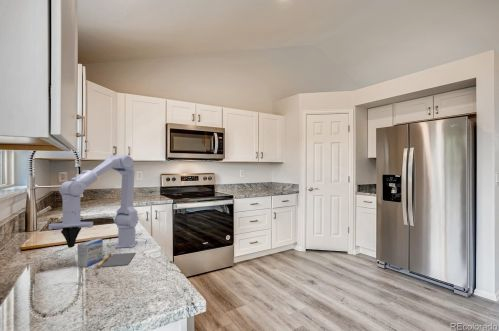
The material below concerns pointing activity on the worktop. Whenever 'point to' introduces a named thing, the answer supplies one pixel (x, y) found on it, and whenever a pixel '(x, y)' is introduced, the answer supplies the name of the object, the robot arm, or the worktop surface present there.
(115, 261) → the rubber mat
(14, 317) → the worktop surface
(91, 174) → the robot arm
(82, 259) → the medicine box
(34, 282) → the worktop surface
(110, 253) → the oak strip
